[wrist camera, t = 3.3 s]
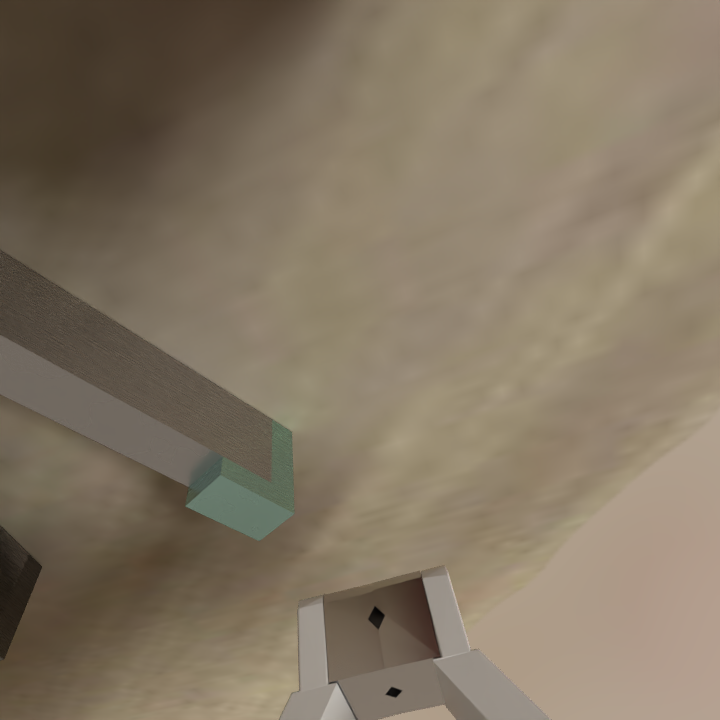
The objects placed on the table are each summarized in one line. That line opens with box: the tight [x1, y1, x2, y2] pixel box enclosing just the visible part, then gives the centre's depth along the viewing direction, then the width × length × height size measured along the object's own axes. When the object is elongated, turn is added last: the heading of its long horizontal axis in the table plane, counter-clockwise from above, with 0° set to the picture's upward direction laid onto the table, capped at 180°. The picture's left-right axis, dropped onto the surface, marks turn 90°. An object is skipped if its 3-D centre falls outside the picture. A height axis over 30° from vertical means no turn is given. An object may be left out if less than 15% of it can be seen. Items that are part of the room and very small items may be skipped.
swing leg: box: [0, 251, 294, 541], centre depth 15 cm, size 17×2×4 cm, turn 44°
